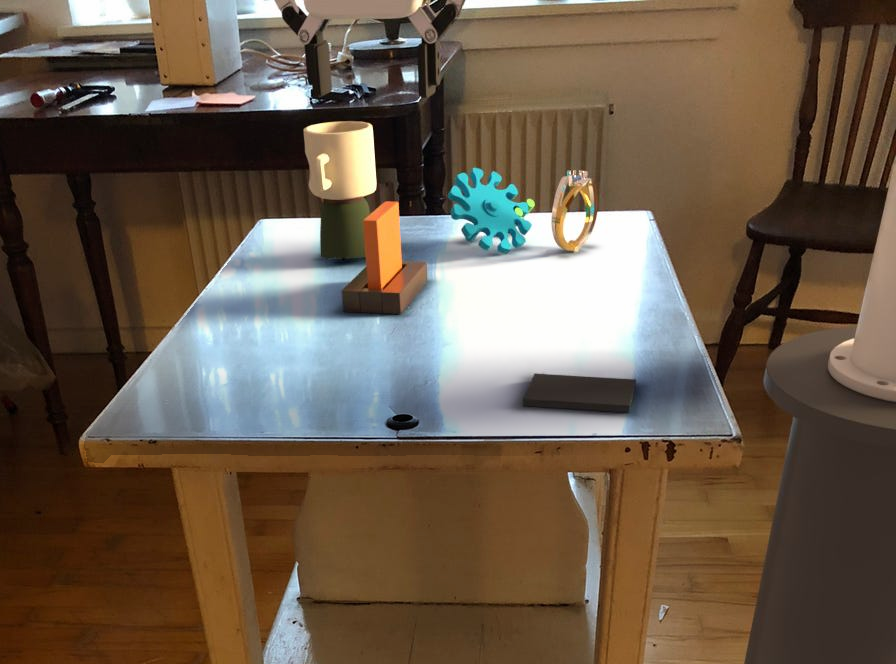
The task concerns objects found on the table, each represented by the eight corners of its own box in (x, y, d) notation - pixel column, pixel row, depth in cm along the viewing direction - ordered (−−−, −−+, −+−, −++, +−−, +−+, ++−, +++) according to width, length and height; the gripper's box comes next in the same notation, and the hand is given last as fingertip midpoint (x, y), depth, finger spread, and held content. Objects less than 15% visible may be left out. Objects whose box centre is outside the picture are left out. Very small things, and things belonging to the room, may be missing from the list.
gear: (472, 248, 102) (441, 163, 103) (446, 280, 107) (417, 199, 108) (554, 243, 107) (523, 163, 108) (526, 274, 112) (497, 197, 113)
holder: (427, 281, 99) (426, 261, 98) (400, 314, 92) (399, 293, 91) (373, 279, 101) (372, 259, 100) (343, 311, 93) (341, 290, 92)
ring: (582, 241, 108) (585, 162, 103) (605, 246, 106) (610, 166, 101) (540, 256, 104) (543, 175, 100) (564, 261, 103) (567, 179, 98)
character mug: (340, 242, 112) (329, 116, 105) (397, 246, 110) (390, 117, 102) (297, 270, 105) (281, 136, 97) (357, 275, 102) (346, 138, 94)
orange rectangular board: (403, 285, 99) (398, 201, 94) (383, 308, 93) (377, 220, 89) (390, 284, 99) (384, 201, 94) (369, 307, 94) (362, 220, 89)
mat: (635, 386, 76) (636, 379, 76) (629, 413, 72) (629, 405, 72) (534, 380, 78) (534, 373, 78) (522, 406, 74) (522, 398, 74)
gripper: (237, -152, 74) (266, 102, 85) (458, -164, 70) (460, 103, 81) (274, -150, 80) (297, 87, 90) (481, -161, 76) (479, 88, 86)
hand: (374, 95), depth 85 cm, fingers open, 9 cm apart
